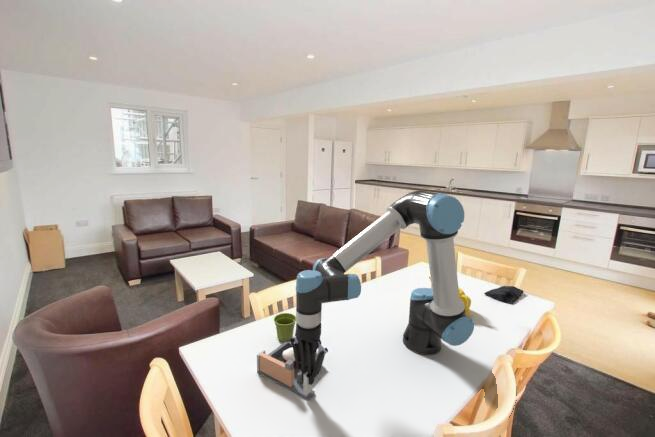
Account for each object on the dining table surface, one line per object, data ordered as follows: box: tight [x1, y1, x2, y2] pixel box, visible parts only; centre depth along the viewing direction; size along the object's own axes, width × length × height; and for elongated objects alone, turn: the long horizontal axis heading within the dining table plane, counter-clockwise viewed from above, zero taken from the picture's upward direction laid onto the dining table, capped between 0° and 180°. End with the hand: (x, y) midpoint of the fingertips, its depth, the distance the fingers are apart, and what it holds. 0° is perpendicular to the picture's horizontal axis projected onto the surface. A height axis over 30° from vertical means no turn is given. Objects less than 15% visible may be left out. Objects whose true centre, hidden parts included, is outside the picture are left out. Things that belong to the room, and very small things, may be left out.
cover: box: [260, 352, 294, 387], centre depth 104 cm, size 14×2×8 cm, turn 57°
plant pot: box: [273, 312, 296, 343], centre depth 128 cm, size 9×9×9 cm
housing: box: [256, 340, 318, 401], centre depth 108 cm, size 22×16×7 cm
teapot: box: [428, 276, 472, 317], centre depth 156 cm, size 25×18×14 cm
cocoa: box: [282, 331, 296, 367], centre depth 110 cm, size 10×6×12 cm, turn 134°
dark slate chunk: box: [483, 285, 525, 305], centre depth 176 cm, size 15×22×5 cm
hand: (307, 391), depth 98 cm, fingers closed
